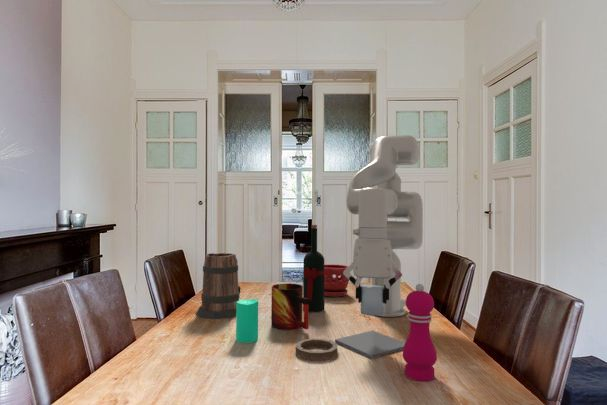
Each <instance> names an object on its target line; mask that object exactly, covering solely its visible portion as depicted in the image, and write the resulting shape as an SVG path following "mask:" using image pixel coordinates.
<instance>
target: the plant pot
mask: <svg viewBox="0 0 607 405" xmlns="http://www.w3.org/2000/svg"><path fill="white" fill-rule="evenodd" d="M349 266H350V265H345V264H324V297H325V296H326V297H330V298H334V297H335V298H336V297H337V298H338V297H343V296H346V295H347V294H348V289H347V287H348V285H349V282H350V280H349V279H348V278H347V277H346V276H345V275H344V274H343V272H344V271H345V270H346V269H347V268H348V267H349ZM334 276H335V277H334Z"/></svg>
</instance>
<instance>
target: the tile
mask: <svg viewBox="0 0 607 405" xmlns="http://www.w3.org/2000/svg"><path fill="white" fill-rule="evenodd" d="M334 342H335V343H336V344H337V345H340V346H342V347H344V348H346V349H348V350H351V351H353V352H355V353H358V354H360V355H362V356H365V357H367V358H369V359H371V360H372V359H375V358H379V357H383V356H385V355H386V356H387V355H389V354H393V353H396V352H399V351H403V348H404V345H405V343H406V341H403V340H400V339H398V338H394V337H392V336H389V335H386V334H383V333H380V332H378V331H376V330H370V331H365V332H359V333H356V334H351V335H348V336H344V337H339V338H336V339H334Z"/></svg>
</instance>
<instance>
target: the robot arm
mask: <svg viewBox="0 0 607 405" xmlns="http://www.w3.org/2000/svg"><path fill="white" fill-rule="evenodd" d="M420 152H421V151H420V145H419V143H418V140H417V139H416V138H415V137H414V136H413V135H410V134H405V135H404V134H401V135H400V134H399V135H398V134H397V135H384V136H380V137H378V138H376V139H375V140H374V141H373V143H372V145H371V146H370V148H369V161H368V165H366V166H365V167H363V168H361V169H360V170H359V171H358V172H357V173H355V175H353V177H352V178H351V180H350V182H349V186H348V189H347V192H346V193H347V195H346V204H345V205H346V209H347V210H348V212H349V213H350V214H352V215H358V221H357V222H358V228H355V229H352V235H353V236H354V235H355V236H356V237H357V238H355V241H354V247H353V258H352V262H351V264H349V265H348V266H349V267H348V268H347V269H346V270H345V271H344V272H343V274H344V275H345V276H346V277H347V278H348V279H349V282H351V284H353V285H354V287H355V299H356V300H357V303H359V304H361V286H362V285H361V282H362V280H363V279H364V278H366V279H367V278H368V279H372V285H378V286H383V287H384V314H383V315H379V316H378V317H383V318H396V317H397V318H398V317H402V316H404V315H405V314H406V309H405V307H406V299H404V298H402V296H401V295H402V294H401V290H402V289H401V288H402V287H401V286H402V285H401V284H402V279H401V278H402V277H403V273H402V267H401V266H402V263H401V259H400V257H399V256H398V255H397V253H396V252H395V251H394V250H417V249H420V248H421V247H422V244H423V234H424V233H423V232H424V228H423V226H424V225H423V224H424V222H423V220H424V219H423V218H424V217H423V216H424V213H423V211H424V210H423V205H424V204H423V199H422V196H421V194H419V192H416V191H402V189H401V188H402V179H401V177H400V176H399V174H398V173H397V172H396V170H397V166H412V165H413V166H415V165H416V164H418V162H419V160H420V156H421V154H420ZM388 219H396V220H388ZM398 219H400V220H401V219H403V220H408V221H402V220H401V221H400V220H398ZM397 220H398V221H397ZM351 272H352V273H353V275H352V274H351ZM355 277H356V278H355Z"/></svg>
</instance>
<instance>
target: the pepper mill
mask: <svg viewBox="0 0 607 405" xmlns="http://www.w3.org/2000/svg"><path fill="white" fill-rule="evenodd" d="M424 290H425V286H424V285H423V284H422V283H418V284H416V285H415V290H413V291H411V292H410V293H409V294H407V296H406V299H405V300H406V305H405V307H406V308H407V309H408V311H409V312H407V315H408V317H407V319H408V321H409V333H408V336H407V339H406V340H405V342H406V343H405V345H404V348H403V350H402V358H403V360H404V361H405V365H404V375H405V377H407V379H408V378H409V379H411V380H412V381H413V380H414V381H417V382H429V381H432V380H434V378H435V368H434V365H435V364H436V363H437V361H438V360H437V359H438V357H437V356H438V353H437V350H436V347H435V344H434V342H433V340H432V336H431V333H430V324H431V323H432V321H433V320H432V313H431V312H432V311H433V310H434V308H435V301H434V297H433V296H432V294H430V293H429V292H426V291H424Z"/></svg>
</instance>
